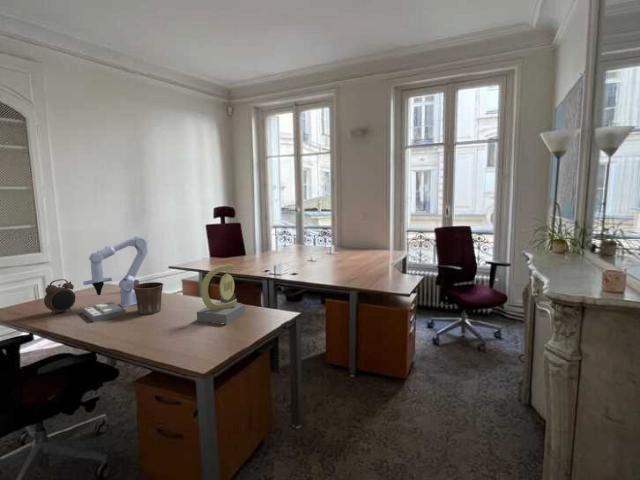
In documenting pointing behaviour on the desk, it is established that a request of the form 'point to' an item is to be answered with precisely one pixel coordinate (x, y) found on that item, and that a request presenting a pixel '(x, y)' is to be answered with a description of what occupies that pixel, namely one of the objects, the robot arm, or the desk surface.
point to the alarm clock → (59, 297)
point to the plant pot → (148, 297)
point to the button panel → (98, 315)
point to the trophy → (220, 310)
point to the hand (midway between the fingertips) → (98, 294)
